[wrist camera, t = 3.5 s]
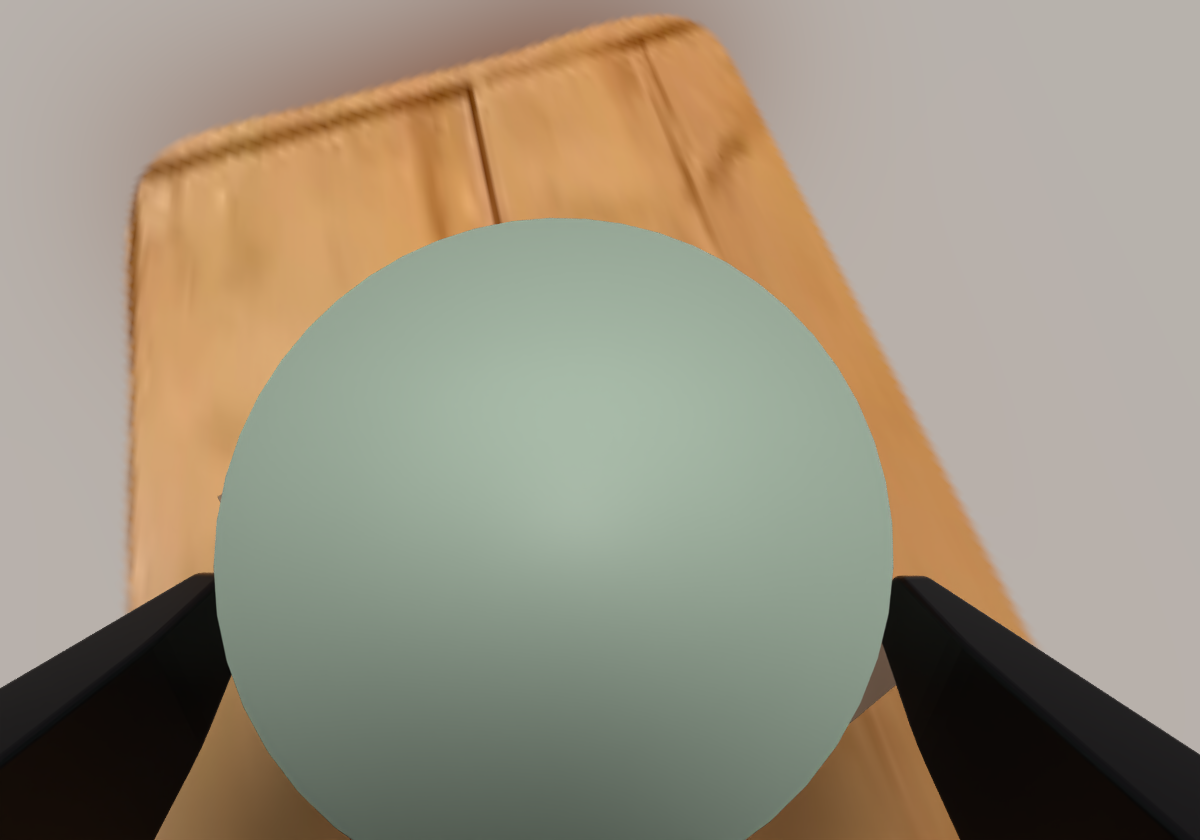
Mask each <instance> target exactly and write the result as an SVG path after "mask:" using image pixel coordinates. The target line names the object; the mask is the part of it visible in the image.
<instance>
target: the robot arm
mask: <svg viewBox="0 0 1200 840" xmlns="http://www.w3.org/2000/svg"><path fill="white" fill-rule="evenodd" d="M882 645H883V648H884V650H885V653H886V656H887V659H888V662H889V665H890V668H891V671H892V674H893V677H894V680H895V683H896V686H897V688H898V691H899V694H900V697H901V700H902V703H903V706H904V709H905V712H906V715H907V718H908V721H909V724H910V726H911V729H912V732H913V735H914V737H915V740H916V743H917V745H918V747H919V750H920V752H921V754H922V757H923V759H924V761H925V764H926V766H927V768H928V770H929V773H930V775H931V777H932V779H933V781H934V784H935V786H936V788H937V790H938V792H939V795H940V797H941V799H942V801H943V803H944V806H945V808H946V810H947V812H948V814H949V817H950V819H951V821H952V823H953V825H954V828H955V830H956V832H957V834H958V836H959V839H960V840H1200V754H1198V753H1197V752H1195V751H1194V750H1192V749H1191V748H1189V747H1188V746H1186V745H1184V744H1183V743H1181V742H1180V741H1178V740H1177V739H1175V738H1174V737H1172V736H1170V735H1169V734H1168V733H1166V732H1165V731H1163V730H1161V729H1160V728H1158V727H1157V726H1155V725H1154V724H1152V723H1151V722H1149V721H1148V720H1146V719H1145V718H1143V717H1142V716H1140V715H1139V714H1137V713H1135V712H1134V711H1132V710H1131V709H1129V708H1128V707H1126V706H1125V705H1123V704H1122V703H1120V702H1118V701H1117V700H1116V699H1114V698H1112V697H1111V696H1109V695H1108V694H1106V693H1105V692H1103V691H1102V690H1100V689H1099V688H1097V687H1096V686H1094V685H1093V684H1091V683H1089V682H1088V681H1086V680H1085V679H1083V678H1082V677H1080V676H1079V675H1077V674H1076V673H1074V672H1073V671H1071V670H1070V669H1068V668H1067V667H1065V666H1063V665H1062V664H1060V663H1059V662H1057V661H1056V660H1054V659H1053V658H1051V657H1050V656H1048V655H1046V654H1045V653H1044V652H1042V651H1040V650H1039V649H1037V648H1036V647H1034V646H1033V645H1031V644H1030V643H1028V642H1027V641H1025V640H1024V639H1022V638H1021V637H1019V636H1018V635H1016V634H1014V633H1013V632H1011V631H1010V630H1008V629H1007V628H1005V627H1004V626H1002V625H1001V624H999V623H998V622H996V621H995V620H993V619H991V618H990V617H988V616H987V615H985V614H984V613H982V612H981V611H979V610H978V609H976V608H975V607H973V606H972V605H970V604H968V603H967V602H965V601H964V600H962V599H961V598H959V597H958V596H956V595H955V594H953V593H952V592H950V591H949V590H947V589H946V588H944V587H942V586H941V585H939V584H938V583H936V582H935V581H933V580H932V579H930V578H928V577H925V576H897V577H895V578H894V579H893V580H892V585H891V595H890V604H889V614H888V618H887V622H886V626H885V630H884V634H883V639H882ZM231 675H232V674H231V671H230V668H229V666H228V663H227V660H226V655H225V650H224V645H223V640H222V636H221V631H220V626H219V621H218V617H217V607H216V593H215V578H214V573H198V574H195V575H193V576H191V577H189V578H188V579H186V580H184V581H183V582H181V583H179V584H177V585H176V586H174V587H172V588H171V589H169V590H167V591H165V592H164V593H162V594H160V595H159V596H157V597H155V598H154V599H152V600H150V601H148V602H147V603H145V604H143V605H142V606H140V607H138V608H136V609H135V610H133V611H131V612H130V613H128V614H126V615H124V616H123V617H121V618H119V619H118V620H116V621H115V622H113V623H111V624H109V625H107V626H106V627H104V628H102V629H101V630H99V631H97V632H95V633H94V634H92V635H90V636H89V637H87V638H85V639H84V640H82V641H80V642H78V643H77V644H75V645H73V646H72V647H70V648H68V649H66V650H65V651H63V652H62V653H60V654H58V655H56V656H54V657H53V658H51V659H49V660H48V661H46V662H44V663H43V664H41V665H39V666H38V667H36V668H34V669H32V670H31V671H29V672H27V673H25V674H24V675H22V676H20V677H19V678H17V679H16V680H14V681H12V682H10V683H8V684H7V685H5V686H3V687H2V688H0V840H154V839H155V837H156V835H157V833H158V831H159V829H160V828H161V826H162V824H163V822H164V820H165V818H166V816H167V814H168V812H169V810H170V808H171V806H172V804H173V803H174V801H175V799H176V797H177V795H178V793H179V791H180V789H181V787H182V785H183V783H184V781H185V779H186V778H187V776H188V774H189V772H190V770H191V768H192V766H193V764H194V762H195V760H196V758H197V756H198V754H199V752H200V750H201V748H202V745H203V743H204V741H205V738H206V736H207V734H208V732H209V729H210V727H211V724H212V722H213V719H214V717H215V714H216V712H217V710H218V707H219V705H220V702H221V700H222V697H223V695H224V692H225V690H226V687H227V685H228V682H229V680H230V677H231Z"/></svg>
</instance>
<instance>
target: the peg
mask: <svg viewBox="0 0 1200 840" xmlns="http://www.w3.org/2000/svg"><path fill="white" fill-rule="evenodd" d="M892 576H893V537H892V520H891V513H890V507H889V500H888V494H887V487H886V481H885V477H884V474H883V470H882V467H881V463H880V460H879V456H878V453H877V449H876V446H875V442H874V439H873V437H872V435H871V432H870V430H869V427H868V425H867V423H866V420H865V418H864V416H863V413H862V411H861V409H860V406H859V404H858V402H857V400H856V398H855V397H854V395H853V393H852V391H851V390H850V388H849V386H848V384H847V383H846V381H845V379H844V377H843V376H842V374H841V372H840V370H839V369H838V367H837V366H836V364H835V363H834V362H833V360H832V359H831V358H830V356H829V355H828V354H827V352H826V351H825V350H824V348H823V347H822V346H821V344H820V343H819V342H818V340H817V339H816V338H815V336H814V335H813V334H812V333H811V332H810V331H809V330H808V329H807V328H806V327H805V326H804V325H803V324H802V323H801V321H800V320H799V319H798V318H797V317H796V316H795V315H794V314H793V313H792V312H791V311H790V310H789V309H788V308H787V307H786V306H785V305H784V304H782V303H781V302H780V301H779V300H778V299H776V298H775V297H774V296H773V295H772V294H770V293H769V292H768V291H767V290H766V289H764V288H763V287H762V286H761V285H760V284H758V283H757V282H755V281H754V280H752V279H751V278H749V277H748V276H746V275H745V274H743V273H742V272H740V271H739V270H737V269H736V268H734V267H733V266H731V265H730V264H728V263H726V262H725V261H723V260H721V259H719V258H717V257H715V256H713V255H711V254H709V253H707V252H705V251H703V250H701V249H699V248H697V247H695V246H693V245H690V244H687V243H685V242H682V241H679V240H677V239H674V238H671V237H668V236H666V235H663V234H660V233H657V232H653V231H649V230H645V229H641V228H637V227H633V226H629V225H625V224H620V223H612V222H605V221H597V220H590V219H566V218H544V219H533V220H522V221H511V222H506V223H501V224H496V225H491V226H486V227H481V228H476V229H473V230H469V231H466V232H463V233H460V234H457V235H454V236H451V237H448V238H444V239H441V240H438V241H436V242H434V243H432V244H429V245H427V246H425V247H423V248H420V249H418V250H416V251H414V252H411V253H409V254H407V255H405V256H403V257H401V258H399V259H398V260H396V261H394V262H392V263H391V264H389V265H387V266H386V267H384V268H382V269H381V270H379V271H377V272H376V273H374V274H372V275H371V276H369V277H368V278H366V279H365V280H364V281H362V282H361V283H360V284H358V285H357V286H356V287H354V288H353V289H352V290H350V291H349V292H348V293H346V294H345V295H344V296H342V297H341V298H340V299H339V300H337V301H336V302H335V303H334V304H333V305H332V306H331V307H330V308H329V309H328V310H327V311H326V312H325V313H324V314H323V315H322V316H320V317H319V318H318V319H317V320H316V321H315V322H314V323H313V324H312V325H311V326H310V327H309V328H308V329H307V330H306V331H305V333H304V334H303V335H302V336H301V338H300V339H299V340H298V341H297V342H296V344H295V345H294V346H293V347H292V348H291V350H290V351H289V352H288V353H287V354H286V356H285V357H284V358H283V359H282V361H281V362H280V364H279V365H278V367H277V368H276V370H275V371H274V373H273V375H272V376H271V378H270V379H269V381H268V382H267V384H266V385H265V387H264V388H263V390H262V392H261V393H260V395H259V396H258V398H257V400H256V403H255V405H254V407H253V409H252V411H251V413H250V415H249V417H248V419H247V421H246V423H245V425H244V427H243V429H242V432H241V434H240V436H239V439H238V442H237V445H236V448H235V451H234V454H233V457H232V460H231V463H230V466H229V469H228V472H227V475H226V478H225V483H224V488H223V493H222V498H221V503H220V508H219V513H218V518H217V526H216V541H215V556H214V578H215V593H216V607H217V617H218V621H219V626H220V631H221V636H222V640H223V645H224V650H225V655H226V660H227V663H228V666H229V668H230V671H231V674H232V677H233V679H234V682H235V685H236V688H237V690H238V693H239V696H240V699H241V701H242V704H243V707H244V709H245V711H246V713H247V714H248V716H249V718H250V720H251V722H252V724H253V725H254V727H255V729H256V731H257V733H258V735H259V737H260V738H261V740H262V742H263V744H264V746H265V748H266V749H267V751H268V753H269V754H270V755H271V757H272V758H273V759H274V761H275V762H276V763H277V765H278V766H279V767H280V768H281V770H282V771H283V772H284V774H285V775H286V776H287V778H288V779H289V780H290V782H291V783H292V784H293V786H294V787H295V788H296V790H297V791H298V792H299V793H300V794H301V795H302V796H303V797H304V798H305V799H306V800H307V801H308V802H309V803H310V804H311V805H312V806H313V807H314V808H315V809H316V810H317V811H318V812H319V813H320V814H322V815H323V816H324V817H325V818H326V819H327V820H328V821H329V822H330V823H331V824H332V825H333V826H334V827H335V828H336V829H338V830H339V831H341V832H342V833H343V834H345V835H346V836H348V837H349V838H351V839H352V840H745V839H747V838H748V837H750V836H751V835H752V834H754V833H755V832H756V831H758V830H759V829H760V828H762V827H763V826H765V825H766V824H767V823H769V822H770V821H771V820H772V819H773V818H774V817H775V816H776V815H777V814H778V813H779V812H780V811H781V810H782V809H783V808H784V807H785V806H786V805H787V804H788V803H789V802H790V801H791V800H792V799H793V798H794V797H795V796H796V795H797V794H798V793H799V792H800V791H801V790H802V789H804V788H805V787H806V786H807V784H808V783H809V782H810V780H811V779H812V778H813V776H814V775H815V774H816V772H817V771H818V770H819V768H820V767H821V766H822V764H823V763H824V762H825V760H826V759H827V758H828V757H829V755H830V754H831V753H832V751H833V750H834V749H835V747H836V746H837V744H838V742H839V741H840V739H841V737H842V735H843V733H844V732H845V730H846V728H847V726H848V724H849V723H850V721H851V719H852V717H853V715H854V714H855V712H856V710H857V708H858V706H859V705H860V703H861V700H862V698H863V695H864V693H865V690H866V687H867V685H868V682H869V680H870V677H871V674H872V672H873V669H874V667H875V664H876V662H877V659H878V655H879V651H880V647H881V643H882V639H883V634H884V630H885V626H886V622H887V618H888V614H889V604H890V595H891V585H892Z"/></svg>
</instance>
